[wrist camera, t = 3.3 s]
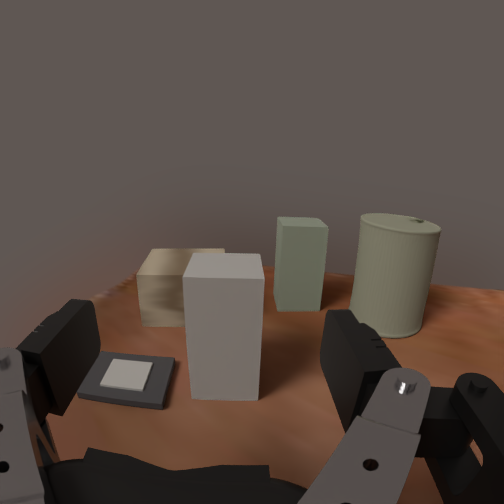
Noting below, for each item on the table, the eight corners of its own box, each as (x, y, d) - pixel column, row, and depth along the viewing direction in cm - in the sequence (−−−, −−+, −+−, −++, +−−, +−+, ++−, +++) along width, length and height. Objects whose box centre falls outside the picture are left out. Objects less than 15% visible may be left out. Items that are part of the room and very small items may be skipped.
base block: (224, 293, 42) (224, 248, 40) (226, 328, 34) (226, 274, 32) (155, 293, 41) (152, 248, 39) (142, 327, 33) (136, 274, 31)
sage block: (311, 293, 42) (318, 218, 39) (319, 310, 37) (328, 227, 35) (273, 293, 42) (277, 216, 39) (277, 311, 37) (282, 225, 34)
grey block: (255, 362, 28) (259, 253, 25) (257, 400, 23) (264, 278, 20) (198, 361, 27) (193, 252, 24) (191, 398, 23) (182, 277, 20)
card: (175, 363, 27) (174, 355, 27) (162, 409, 21) (161, 402, 21) (102, 356, 26) (100, 349, 26) (78, 397, 21) (75, 390, 21)
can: (435, 324, 33) (456, 224, 30) (387, 348, 29) (411, 229, 26) (382, 296, 41) (395, 208, 38) (331, 311, 37) (342, 209, 34)
